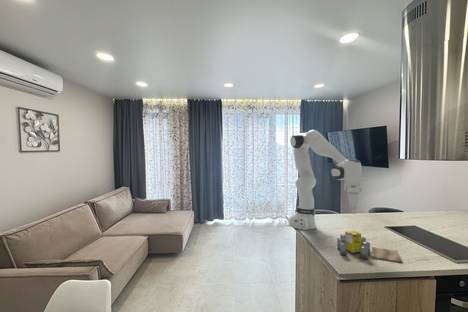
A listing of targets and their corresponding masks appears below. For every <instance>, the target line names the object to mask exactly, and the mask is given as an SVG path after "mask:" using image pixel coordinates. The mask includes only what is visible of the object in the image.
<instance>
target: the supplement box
mask: <svg viewBox="0 0 468 312" xmlns="http://www.w3.org/2000/svg"><path fill="white" fill-rule="evenodd" d="M344 235H345V243H346V244H347V252H349V253H350V254H353V255H356V254H360V246H361V237H362V233H360V232H358V231H356V230H345V232H344Z"/></svg>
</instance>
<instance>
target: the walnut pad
mask: <svg viewBox="0 0 468 312" xmlns="http://www.w3.org/2000/svg"><path fill="white" fill-rule="evenodd" d="M371 250H372V253H373V258H374V259H376V260H381V261H387V262H393V263H400V264H402V263H403V261H402V259H401V256H400V255H399V252H398V251H397V250H394V249H386V248H380V247H375V246H372V247H371Z"/></svg>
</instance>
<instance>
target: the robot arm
mask: <svg viewBox="0 0 468 312" xmlns="http://www.w3.org/2000/svg"><path fill="white" fill-rule="evenodd" d="M290 145H291V148H293V156H294V163H295V168H296V170H297V172H298V175H299V177H298V178H297V179H296V181H295V186H296V189H297V194H298V206H296V209H295V212H294V213H293V214H291V215H290V216H289V218H288V221H286V222H285V226H286V227H289V228H294V229H299V230H304V231H308V230H314V229H316V228H317V225H316V220H315V219H316V218H315V215H316V210H315V197H314V193H313V188H314V187H315V186H316V184H317V179H316V177H315V174H314V171H313V168H312V164H311V163H312V162H311V159H310V153H309V149H310V148H311V150H312V151H313V152H314V153H315V154H316V155H318V156H323V157H326V158H331V159H332V160H335V162H336V163H337V164H333V165H331V167H330V171H329V172H330V173H329V174H330V176H331V178H332V179H333V180H337V181H344V186H343V187H344V190H345V191H346V193H347V196H348V203H349V207H351V209H350V210H351V214H352V215H355V214H356V208H358V206H359V205H358V204H359V199H360V198H359V196H360V193H361V192H362V191H363V182H362V181H363V180H362V173H363V169H362V167H363V166H362V164H361V161H360V160H358V159H356V158H347V156H345V154H343V152H342V151H340V149H338V148H337V147H335V146H334V145H333V144H332V143H330V142H329V141H328V140H327V138H326V137H325V136H324V135H323V134H321V133H320V132H319V131H318V130H316V129H311V130H309V131H307V132H306V131H305V132H302V133H296V134H292V136H291V137H290Z"/></svg>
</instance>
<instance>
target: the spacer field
mask: <svg viewBox="0 0 468 312" xmlns="http://www.w3.org/2000/svg"><path fill="white" fill-rule="evenodd" d="M339 235H340V237H337V238H336V243H337V244H336V247H337V250H338V251H339V255H340V256H342V257H347V256H348V251H347V244H346V243H345V233H343V234H342V233H341V234H339ZM370 255H371V242H369V241H367V238H366V237H364V236H361V246H360V253H359V258H360V259H361V260H364V261H366V260H367V261H368V260H369V256H370Z"/></svg>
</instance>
